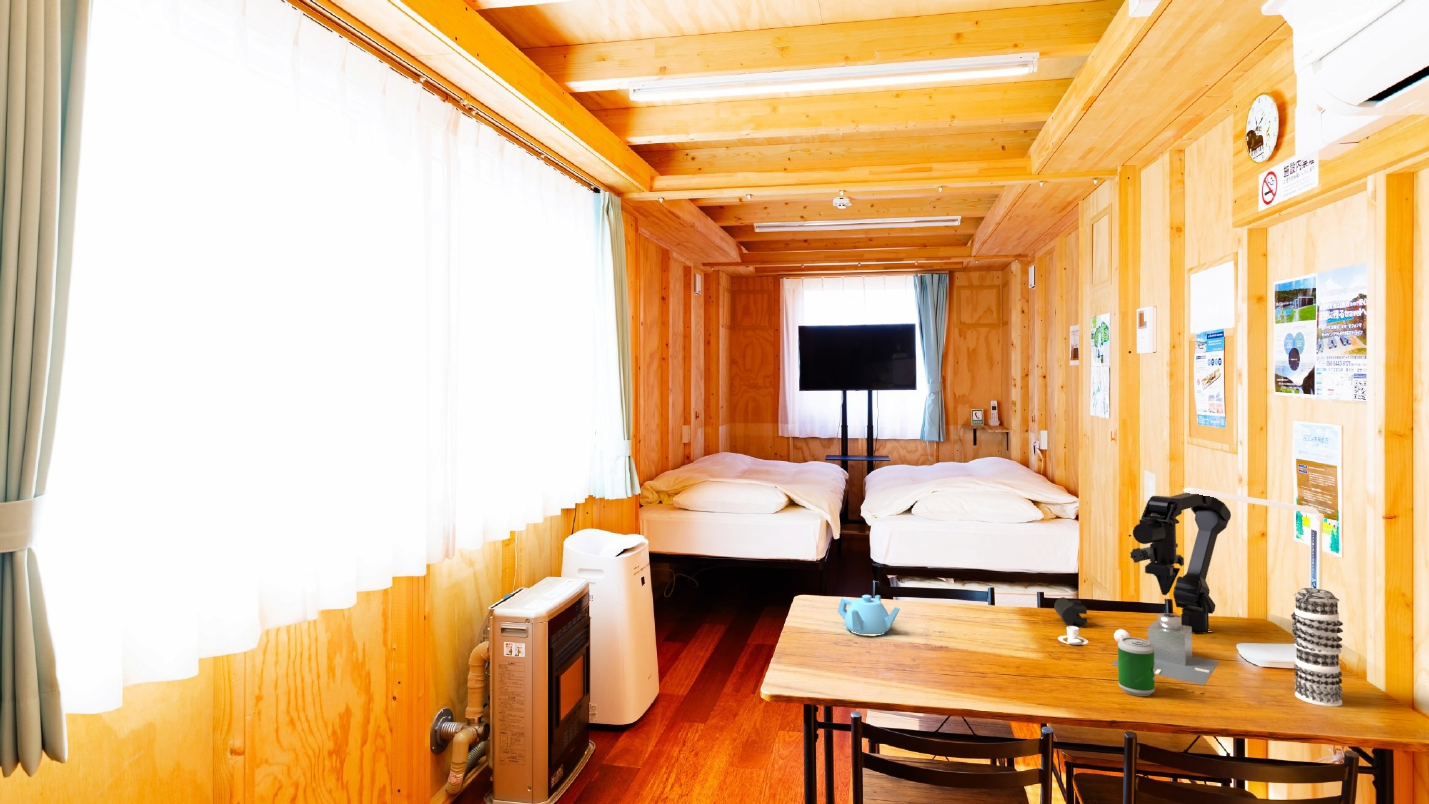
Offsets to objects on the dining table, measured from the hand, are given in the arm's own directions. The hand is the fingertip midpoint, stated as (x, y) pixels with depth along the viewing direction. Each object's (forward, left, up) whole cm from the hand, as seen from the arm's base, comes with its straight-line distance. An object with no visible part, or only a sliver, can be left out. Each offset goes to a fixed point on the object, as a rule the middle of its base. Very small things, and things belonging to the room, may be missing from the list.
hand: (1165, 593), depth 208 cm
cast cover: (+13, +15, -12) cm, 23 cm away
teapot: (+79, -30, -13) cm, 85 cm away
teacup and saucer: (+29, -6, -14) cm, 33 cm away
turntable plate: (+17, +18, -13) cm, 28 cm away
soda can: (+36, +29, -13) cm, 48 cm away
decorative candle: (0, +43, -13) cm, 45 cm away
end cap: (+16, -20, -13) cm, 29 cm away
